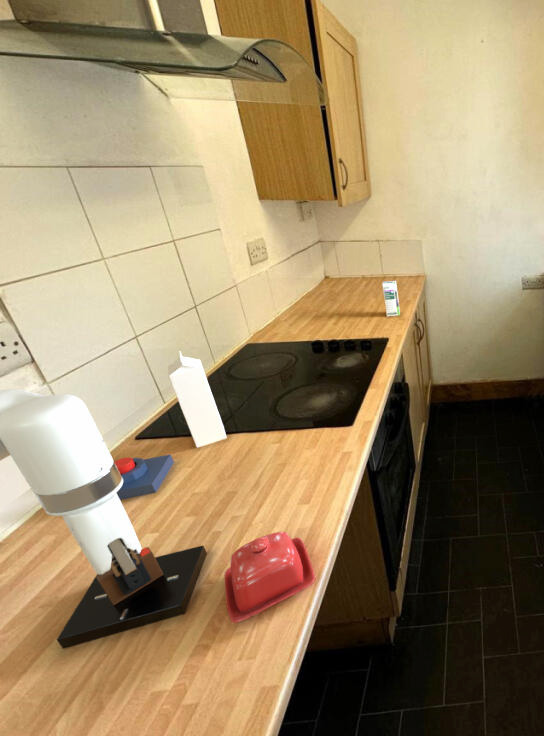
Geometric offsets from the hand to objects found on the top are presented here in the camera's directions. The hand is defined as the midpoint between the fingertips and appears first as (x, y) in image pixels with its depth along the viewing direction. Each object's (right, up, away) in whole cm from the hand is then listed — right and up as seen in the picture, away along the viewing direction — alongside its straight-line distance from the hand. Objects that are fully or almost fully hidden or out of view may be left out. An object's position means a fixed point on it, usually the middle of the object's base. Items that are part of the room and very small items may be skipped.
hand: (134, 582), depth 62 cm
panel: (0, -3, +1) cm, 3 cm away
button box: (-23, +7, +24) cm, 34 cm away
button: (-23, +10, +23) cm, 34 cm away
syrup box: (+4, +51, +122) cm, 132 cm away
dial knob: (0, -1, 0) cm, 1 cm away
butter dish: (+18, -2, +3) cm, 19 cm away
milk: (-17, +13, +39) cm, 44 cm away
